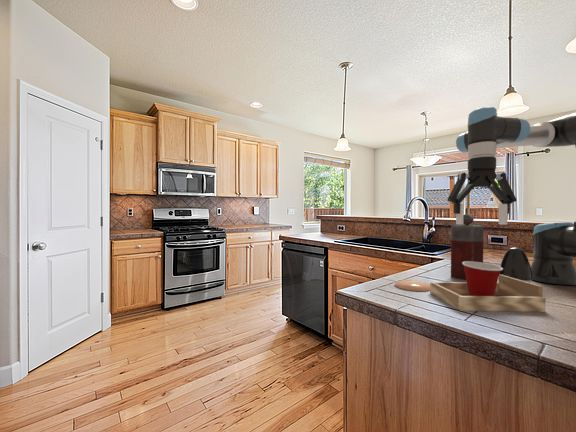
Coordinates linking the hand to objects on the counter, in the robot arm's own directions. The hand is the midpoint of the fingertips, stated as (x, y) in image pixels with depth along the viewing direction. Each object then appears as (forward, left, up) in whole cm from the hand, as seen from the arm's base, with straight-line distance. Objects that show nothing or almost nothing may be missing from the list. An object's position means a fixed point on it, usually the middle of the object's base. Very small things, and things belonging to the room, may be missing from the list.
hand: (481, 224), depth 90 cm
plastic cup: (0, 0, -25) cm, 25 cm away
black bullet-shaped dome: (-26, -20, -25) cm, 41 cm away
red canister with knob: (-15, -31, -25) cm, 43 cm away
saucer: (+14, -18, -25) cm, 33 cm away
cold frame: (0, 0, -25) cm, 25 cm away
